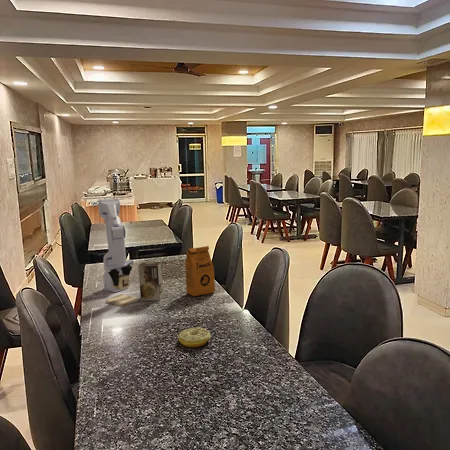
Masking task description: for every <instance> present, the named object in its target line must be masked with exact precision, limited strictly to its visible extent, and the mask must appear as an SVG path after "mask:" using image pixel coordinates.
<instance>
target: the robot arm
mask: <svg viewBox="0 0 450 450" xmlns="http://www.w3.org/2000/svg"><path fill="white" fill-rule="evenodd" d="M97 208H98V215H99V217H100V219H101V218H102V219H103V220H104V221H103V222H104V223H105V231H106V232H105V233H106V241H107V249H108V251H107V252H106V254H105V255H103V257H102V258H103V269H104V270H103V271H104V273H103V275H102V276H103V277H102V278H103V288H102V290H104V291H106V292H107V291H108V292H112V293H119V292H120V291H121V292H122V291H123V290H126V289H128V288H129V287H127V288H124V289H122V290H120V289H116V288H113V284H114V286H118V284H119V281H118V278H119V275H120V274H123V275H129V276H130V274H131V272H132V269H133V266H132V265H135V264H134V260H133V259H127V255H126V236H127V234H126V233H127V232H126V227H125V226H124V225H123V223H122V220H121V218H120V217H119V216H120V211H121V201H120V199H119V198H118V197H116V198H105V199H104V198H103V199H102V198H101V199H100V198H99V199H98V200H97Z"/></svg>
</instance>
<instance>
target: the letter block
mask: <svg viewBox="0 0 450 450" xmlns="http://www.w3.org/2000/svg"><path fill="white" fill-rule="evenodd" d="M118 281H119V284H118V286H114V284H113V288H116V289H120V290H121V291H123V290H122V289H124V288H126V289H128V288H130V287H131V285H130V284H131V283H130V274H129V275H123V274H120V275H119V278H118ZM127 287H128V288H127ZM124 290H125V289H124Z"/></svg>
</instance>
